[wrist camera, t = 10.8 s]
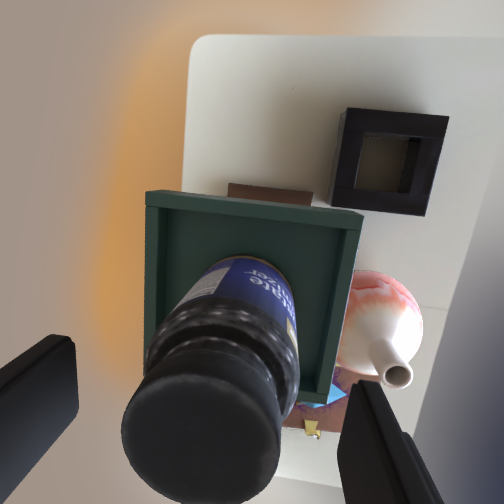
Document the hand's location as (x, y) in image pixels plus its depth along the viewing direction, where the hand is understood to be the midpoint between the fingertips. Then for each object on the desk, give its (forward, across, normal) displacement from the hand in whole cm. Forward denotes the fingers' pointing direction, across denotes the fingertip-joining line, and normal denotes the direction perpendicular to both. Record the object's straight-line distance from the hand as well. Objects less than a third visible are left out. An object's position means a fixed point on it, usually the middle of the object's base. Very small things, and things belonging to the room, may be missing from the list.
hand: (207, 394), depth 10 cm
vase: (+36, -15, +11) cm, 40 cm away
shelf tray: (+10, 0, 0) cm, 10 cm away
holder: (+36, -14, -10) cm, 40 cm away
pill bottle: (+10, 0, +1) cm, 10 cm away
